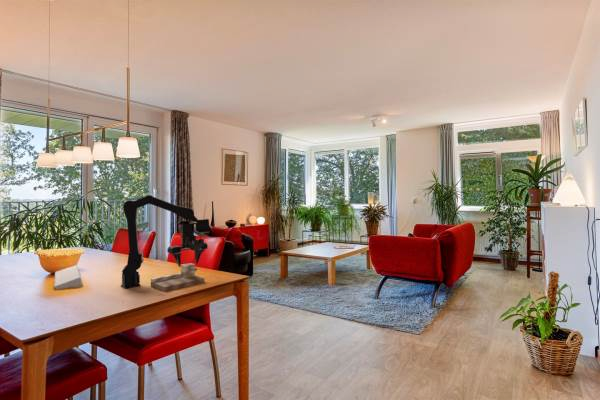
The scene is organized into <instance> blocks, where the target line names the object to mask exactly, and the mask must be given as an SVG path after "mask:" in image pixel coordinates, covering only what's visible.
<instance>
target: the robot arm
mask: <svg viewBox="0 0 600 400" xmlns="http://www.w3.org/2000/svg"><path fill="white" fill-rule="evenodd" d="M148 205H152V206H154V207H155V206H156V207H158V208H160V209H162V210H165V211H169V212H170V213H174V214H175V215H177V216H179V217H180V218H182V219H183V220H182V219H180V220H179V221H178V222H177V225H178V226H181V235H180V236H179V237H180V239H181V243H180V246H178V245H171V246H168V247H167V248H166V249H167V253H169V254H170V255H172V256H173V258H174V260H175V261H176V264H177V266H178V267H179V268H181V265H182V261H181V256H182V251H188V250H190V251H194V259H195V261H194V262H195V265H198V263H199V262H200V257H201V255H202V253H203V252H205V251H206V250H207V249H208V248H209V246H208V243H206V242H205V239H203V238H199V239H197V236H196V235H195V232H197V233H198V234H207V233H210V231H211V225H210V219H209V218H203V219H198V217H196V216H195V212H194V210H193V208H190V207H186V206H181V205H176V204H173V203H170V202H168V201H165V200H163V199H160V198H158V197H155V196H153V195H150V194H148V195H145V196H144V197H141V198H138V199H135V200H133V199H132V200H126V201H125V202H124V203H123V205H122V210H123V213H124V216H125V219H126V222H127V223H126V224H127V236H128V256H127V264H126V265H125V266H124V267H123V269H122V270H121V284H120V287H121V288H124V289H130V288H135V287H139V286H141V284H140V283H141V282H140V281H141V280H140V278H141V277H140V274H139V271H137V270H139V269H140V268H141V267H142V264H143V263H144V252H143V251H142V252H140V249H139V238H138V225H137V224H138V222H137V219H138V212H139V208H141V207H144V206H148ZM190 221H191V222H190Z"/></svg>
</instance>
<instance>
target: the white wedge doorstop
mask: <svg viewBox="0 0 600 400" xmlns="http://www.w3.org/2000/svg"><path fill="white" fill-rule="evenodd" d="M53 287H54V288H55V289H56V290H57V291H58V290H62V289H63V290H64V289H67V288H69V289H70V288H77V287H79V288H80V287H84V285H83V281H82V277H81V272H80V269H79V266H78V264H75V265H72V266H70V267H69V266H68V267H66V268H63V269H60V270H57V271H55V273H54V284H53Z"/></svg>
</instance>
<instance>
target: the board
mask: <svg viewBox="0 0 600 400" xmlns="http://www.w3.org/2000/svg"><path fill="white" fill-rule="evenodd" d="M203 283H205V277H201V276H199V275H195V276H194V277H190V278H183V277H181V272H178V273H173V274H169V275H163V276H159V277H153V278H150V287H151V288H154V289H157V290H160V291H162V292H164V293H165V292H167V291H169V292H170V291H172V290H179V289H181V288H186V287H190V286H195V285H199V284H203Z"/></svg>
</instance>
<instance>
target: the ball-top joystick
mask: <svg viewBox="0 0 600 400" xmlns="http://www.w3.org/2000/svg"><path fill="white" fill-rule="evenodd" d="M197 271H198V269H197V268H196V263H188V262H187V263H183V264H181V267H180V273H181V277H183V278H190V277H194V276H196V272H197Z"/></svg>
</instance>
